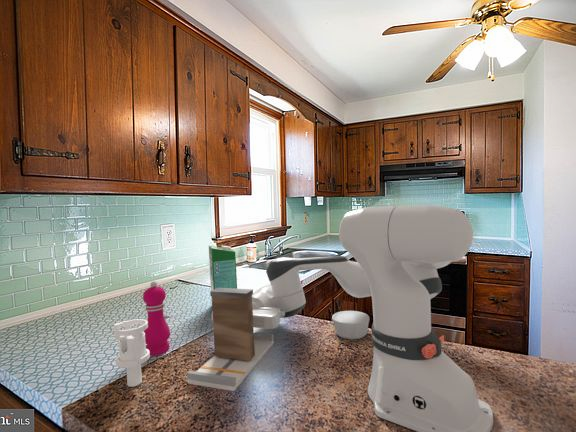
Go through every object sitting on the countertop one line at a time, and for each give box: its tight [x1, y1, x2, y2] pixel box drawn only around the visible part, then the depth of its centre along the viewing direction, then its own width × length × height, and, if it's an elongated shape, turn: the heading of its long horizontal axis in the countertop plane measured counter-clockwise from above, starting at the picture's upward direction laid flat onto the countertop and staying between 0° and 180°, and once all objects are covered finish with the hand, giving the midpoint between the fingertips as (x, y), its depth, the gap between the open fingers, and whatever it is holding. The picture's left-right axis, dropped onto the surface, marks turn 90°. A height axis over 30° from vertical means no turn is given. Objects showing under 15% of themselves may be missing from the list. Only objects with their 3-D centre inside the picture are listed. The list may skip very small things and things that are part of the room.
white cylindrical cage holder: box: [113, 318, 151, 388], centre depth 72 cm, size 7×7×15 cm
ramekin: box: [331, 310, 370, 340], centre depth 95 cm, size 11×11×5 cm
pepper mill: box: [142, 281, 171, 356], centre depth 88 cm, size 7×7×20 cm
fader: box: [209, 288, 255, 361], centre depth 80 cm, size 4×10×17 cm, turn 72°
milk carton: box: [208, 245, 238, 301], centre depth 124 cm, size 9×9×25 cm
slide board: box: [186, 332, 274, 392], centre depth 81 cm, size 24×12×2 cm, turn 162°
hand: (233, 327), depth 82 cm, fingers closed
